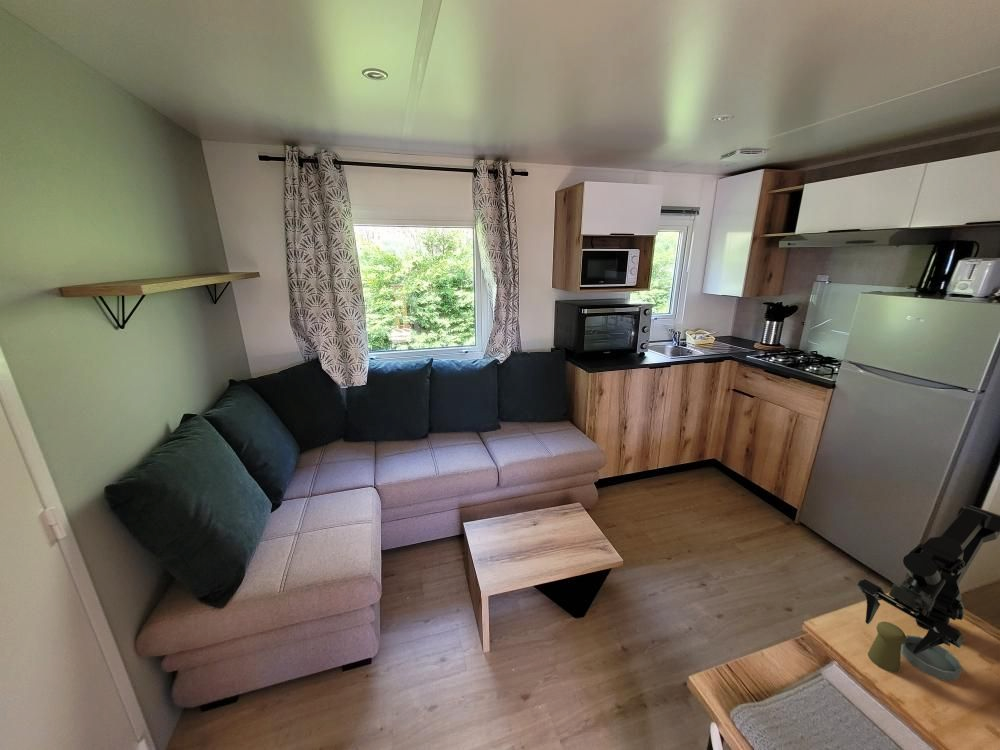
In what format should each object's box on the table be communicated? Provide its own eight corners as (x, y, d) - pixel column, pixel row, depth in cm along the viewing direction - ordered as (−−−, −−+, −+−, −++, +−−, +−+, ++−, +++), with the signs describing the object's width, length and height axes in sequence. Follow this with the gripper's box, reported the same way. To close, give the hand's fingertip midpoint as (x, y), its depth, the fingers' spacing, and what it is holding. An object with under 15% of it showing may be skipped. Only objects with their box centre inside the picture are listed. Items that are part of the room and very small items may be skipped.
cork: (907, 674, 94) (916, 640, 92) (878, 670, 95) (887, 636, 93) (888, 652, 100) (896, 618, 97) (861, 648, 101) (869, 615, 99)
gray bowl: (897, 636, 104) (899, 629, 104) (952, 657, 98) (954, 649, 97) (904, 664, 97) (906, 656, 96) (963, 689, 90) (966, 681, 90)
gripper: (867, 553, 102) (836, 600, 101) (971, 604, 85) (936, 661, 84) (877, 568, 107) (848, 613, 105) (977, 620, 90) (944, 674, 89)
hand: (889, 637), depth 96 cm, fingers open, 9 cm apart
